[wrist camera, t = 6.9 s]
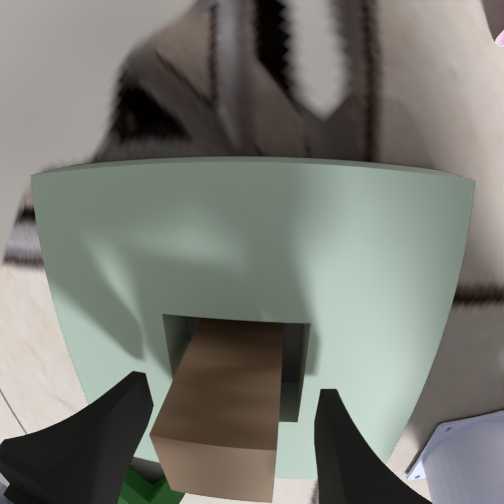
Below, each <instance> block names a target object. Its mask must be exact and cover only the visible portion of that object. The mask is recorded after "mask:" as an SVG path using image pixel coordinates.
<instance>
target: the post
mask: <svg viewBox="0 0 504 504" xmlns="http://www.w3.org/2000/svg"><path fill="white" fill-rule="evenodd" d="M283 325H284V322H263V321H245V320H230V319H216V318H203V317H201V319H200V322H199V324H198V326H197V328H196V330H195V333H194V335H193V337H192V339H191V341H190V344H189V346H188V348H187V350H186V352H185V355H184V357H183V359H182V361H181V364H180V366H179V368H178V370H177V373H176V375H175V377H174V379H173V381H172V384H171V386H170V388H169V390H168V393H167V395H166V397H165V399H164V402H163V404H162V406H161V409H160V411H159V413H158V415H157V418H156V420H155V422H154V425H153V427H152V429H151V431H150V434H149V436H150V439H151V441H152V444H153V447H154V449H155V452H156V454H157V457H158V459H159V462H160V464H161V467H162V469H163V471H164V474H165V476H166V478H167V481H168V483H169V485H170V488H171V490H174V491H179V492H184V493H189V494H195V495H201V496H208V497H215V498H223V499H231V500H241V501H253V502H269V503H272V497H273V487H274V477H275V466H276V455H277V441H278V426H279V410H280V392H281V372H282V350H283Z"/></svg>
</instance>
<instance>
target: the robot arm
mask: <svg viewBox="0 0 504 504" xmlns="http://www.w3.org/2000/svg"><path fill="white" fill-rule="evenodd" d="M153 407H154V403H153V400H152V396H151V392H150V388H149V384H148V380H147V376H146V373H143V372H137V371H132V372H131V373H129V374H128V375H127V376H126V377H124V378H123V379H122V380H121V381H120V382H118V383H117V384H116V385H115V386H113V387H112V388H111V389H110V390H108V391H107V392H106V393H105V394H103V395H102V396H101V397H99V398H98V399H97V400H95V401H94V402H92V403H91V404H89V405H88V406H87V407H85V408H84V409H82V410H81V411H79V412H77V413H76V414H74V415H72V416H70V417H69V418H67V419H65V420H63V421H61V422H59V423H57V424H54V425H52V426H50V427H47V428H45V429H43V430H40V431H37V432H34V433H31V434H27V435H24V436H19V437H15V438H10V439H5V440H3V442H2V443H1V444H0V473H1V474H2V475H3V476H4V477H5V478H6V480H7V481H8V482H9V483H10V485H9V486H8V488H7V487H6V486H5V485H4V484H2V483H1V482H0V504H118V500H119V496H120V492H121V489H122V485H123V482H124V479H125V476H126V473H127V470H128V467H129V465H130V462H131V460H132V458H133V456H134V454H135V452H136V450H137V448H138V445H139V443H140V441H141V439H142V437H143V435H144V433H145V431H146V428H147V426H148V424H149V421H150V417H151V414H152V411H153ZM314 447H315V456H316V465H317V475H318V485H319V504H504V410H503V411H499V412H495V413H490V414H486V415H482V416H477V417H472V418H468V419H462V420H457V421H452V422H446V423H442V424H440V425H438V426H437V428H436V429H435V431H434V433H433V435H432V436H431V438H430V440H429V442H428V443H427V445H426V447H425V448H424V450H423V451H422V453H421V455H420V456H419V458H418V459H417V461H416V463H415V464H414V466H413V467H412V469H411V470H410V472H409V473H408V475H407V476H406V477H407V480H415V479H421V478H426V479H427V483H428V487H429V491H430V495H431V499H432V502H430V501H429V500H427V499H426V498H424V497H423V496H421V495H419V494H418V493H417V492H415V491H414V490H413V489H411V488H410V487H409V486H408V485H406V484H405V483H404V482H403V481H402V480H401V479H400V478H398V477H397V476H396V475H395V474H394V473H393V472H392V471H391V470H390V469H389V468H388V467H387V466H386V465H385V464H384V463H383V462H382V461H381V459H380V458H379V457H378V456H377V455H376V454H375V452H374V451H373V450H372V449H371V447H370V446H369V445H368V443H367V442H366V440H365V439H364V437H363V436H362V435H361V433H360V431H359V430H358V428H357V427H356V425H355V423H354V422H353V420H352V418H351V417H350V415H349V413H348V411H347V409H346V407H345V405H344V403H343V401H342V399H341V397H340V395H339V392H338V390H337V389H320V394H319V400H318V405H317V410H316V415H315V420H314Z"/></svg>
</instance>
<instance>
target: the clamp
mask: <svg viewBox="0 0 504 504" xmlns="http://www.w3.org/2000/svg"><path fill="white" fill-rule="evenodd" d="M184 495H185V493H184V492H179V491H174V490H171V488H170V485H169V483H168V481H167V478H166V477H165V478H164V479H162V480H160V481H158V482H156V483H154V484H150V483H149V482H148V481H147V480H146V479H144V478H143V477H142V476H141V475H140V474H138V473H137V472H136V471H135V470H134V469H133V468H131V467H130V466H129V467H128V470H127V473H126V476H125V479H124V482H123V485H122V489H121V492H120V496H119V500H118V504H179V503H180V501H181V500H182V498H183V497H184Z"/></svg>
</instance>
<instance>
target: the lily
mask: <svg viewBox="0 0 504 504" xmlns="http://www.w3.org/2000/svg"><path fill="white" fill-rule="evenodd" d="M495 43H497V44H498V45H499V46H500V47H504V30H503V31H502V32H501V33H500V35H499V36H498V37H497V38H496V39H495Z"/></svg>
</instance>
